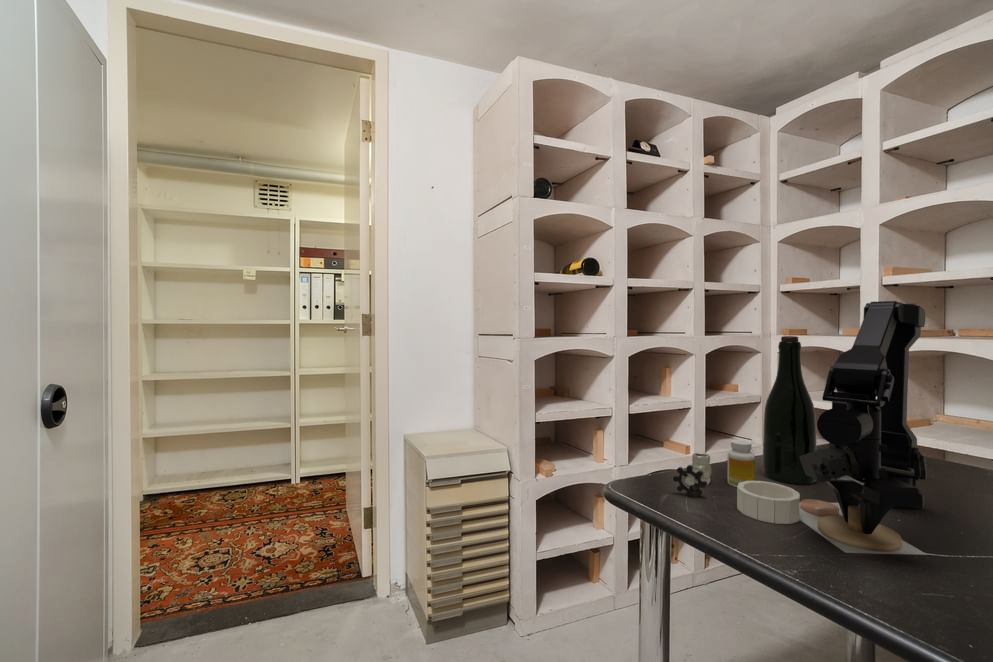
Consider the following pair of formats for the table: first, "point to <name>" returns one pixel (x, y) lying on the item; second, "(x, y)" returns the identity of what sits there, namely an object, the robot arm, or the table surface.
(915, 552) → the mat
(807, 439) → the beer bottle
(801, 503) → the pink glossy dome
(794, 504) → the bowl
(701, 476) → the valve
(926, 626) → the table surface
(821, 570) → the table surface
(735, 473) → the supplement bottle
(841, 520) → the lid
